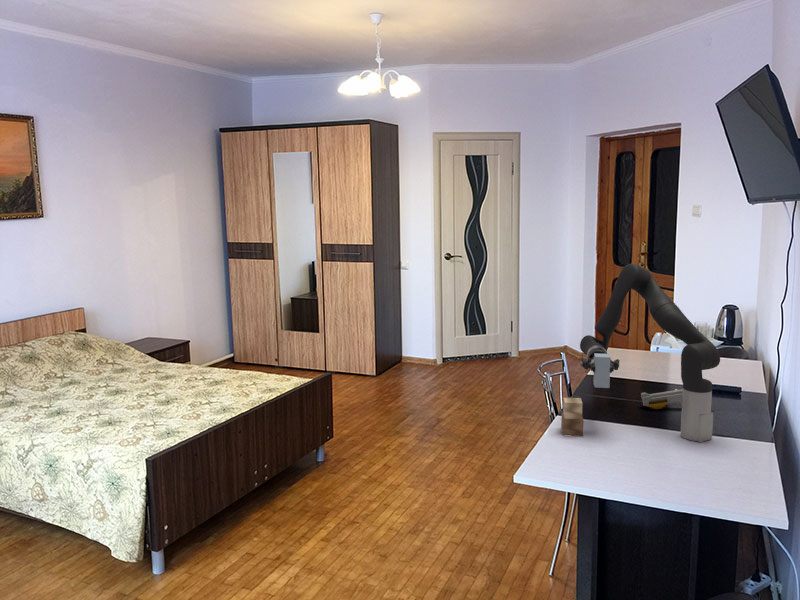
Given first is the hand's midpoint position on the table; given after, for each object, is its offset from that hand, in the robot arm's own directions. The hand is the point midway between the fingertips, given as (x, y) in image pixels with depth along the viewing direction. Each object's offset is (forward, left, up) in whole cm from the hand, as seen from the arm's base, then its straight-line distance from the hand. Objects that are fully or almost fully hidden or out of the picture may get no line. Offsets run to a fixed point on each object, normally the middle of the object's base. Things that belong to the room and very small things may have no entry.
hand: (602, 369), depth 229 cm
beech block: (+7, +6, -18) cm, 21 cm away
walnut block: (+7, +6, -24) cm, 26 cm away
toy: (+6, -45, -24) cm, 52 cm away
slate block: (+2, -2, -6) cm, 7 cm away
